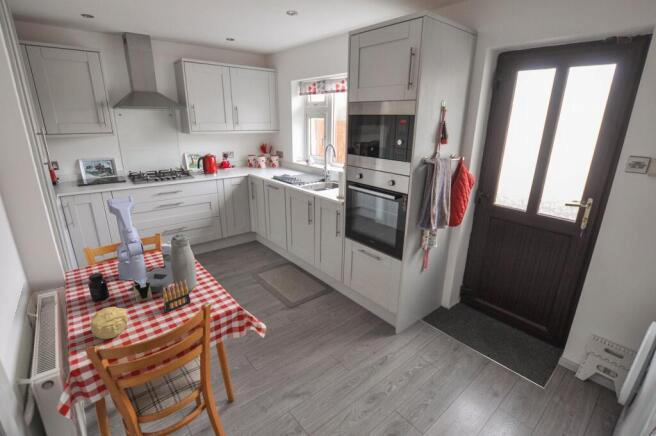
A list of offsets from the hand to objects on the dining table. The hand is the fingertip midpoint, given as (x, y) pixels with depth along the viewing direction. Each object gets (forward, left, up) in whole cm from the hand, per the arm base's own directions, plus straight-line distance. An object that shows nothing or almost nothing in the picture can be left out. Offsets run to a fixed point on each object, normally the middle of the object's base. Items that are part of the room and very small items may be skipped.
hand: (143, 294), depth 146 cm
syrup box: (-5, +30, -2) cm, 31 cm away
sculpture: (+4, -24, -2) cm, 24 cm away
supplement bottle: (-19, -3, -2) cm, 19 cm away
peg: (0, 0, -2) cm, 2 cm away
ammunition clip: (+19, -4, -2) cm, 20 cm away
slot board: (-3, +15, -2) cm, 15 cm away
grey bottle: (+15, +10, -2) cm, 18 cm away
